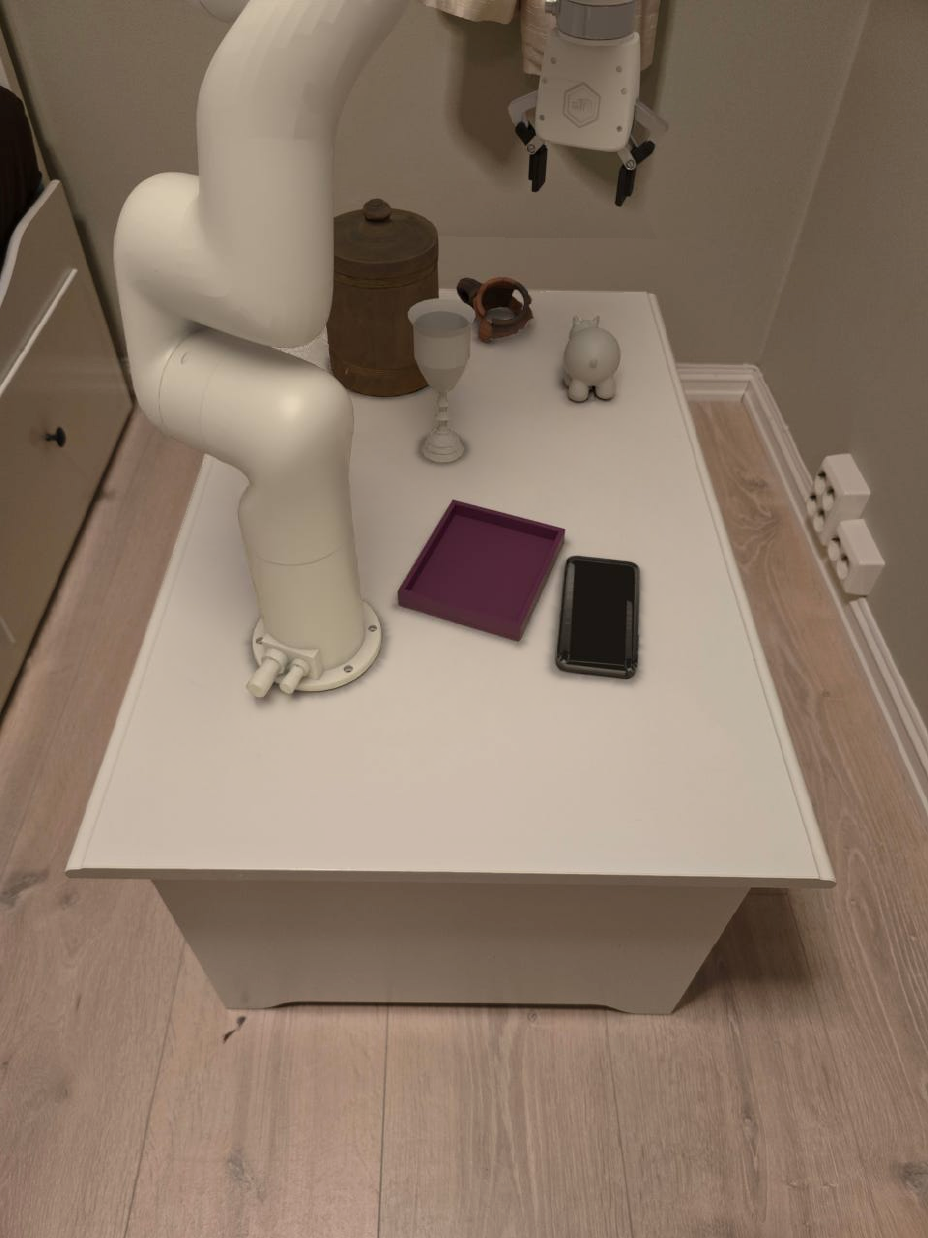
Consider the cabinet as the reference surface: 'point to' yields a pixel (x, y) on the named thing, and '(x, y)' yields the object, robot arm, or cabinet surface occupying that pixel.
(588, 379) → the chubby cartoon animal
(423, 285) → the wooden container
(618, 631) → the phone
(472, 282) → the pottery mug
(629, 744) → the cabinet surface
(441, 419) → the chalice
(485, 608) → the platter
